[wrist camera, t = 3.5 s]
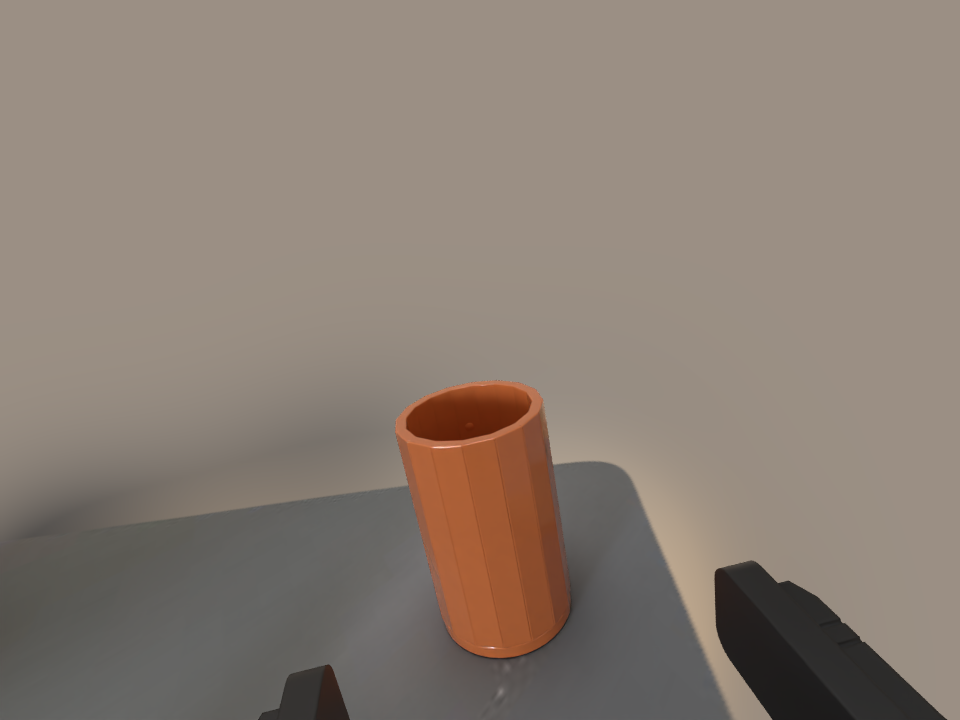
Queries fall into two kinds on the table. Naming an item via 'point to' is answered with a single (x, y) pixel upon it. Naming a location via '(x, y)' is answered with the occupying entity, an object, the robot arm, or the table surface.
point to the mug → (488, 514)
